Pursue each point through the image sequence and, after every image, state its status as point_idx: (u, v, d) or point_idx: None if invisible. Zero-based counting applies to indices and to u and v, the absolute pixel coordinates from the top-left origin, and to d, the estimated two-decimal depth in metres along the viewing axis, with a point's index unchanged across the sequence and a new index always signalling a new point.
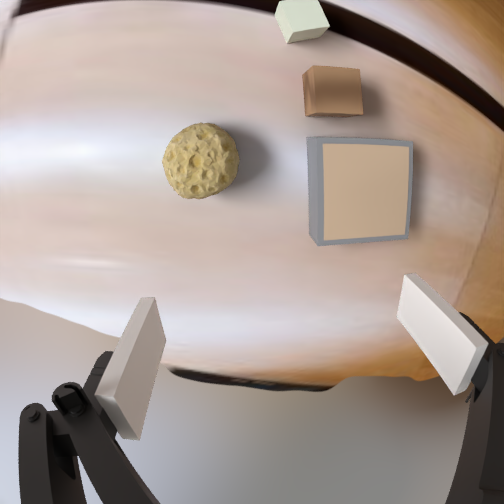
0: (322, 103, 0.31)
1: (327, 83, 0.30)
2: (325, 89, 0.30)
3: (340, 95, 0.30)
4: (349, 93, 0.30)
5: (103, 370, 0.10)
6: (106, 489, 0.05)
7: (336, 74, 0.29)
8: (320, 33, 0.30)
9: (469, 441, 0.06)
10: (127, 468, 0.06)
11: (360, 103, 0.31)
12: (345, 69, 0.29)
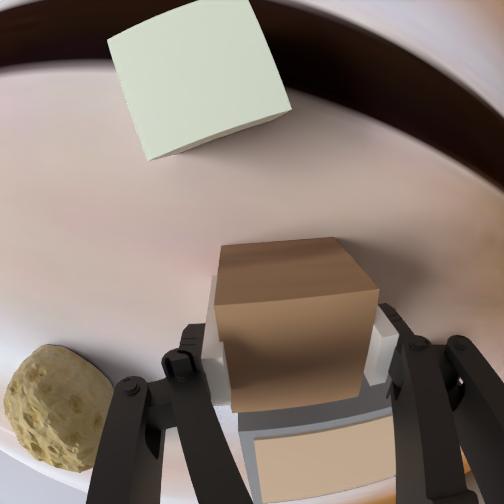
0: (247, 396, 0.12)
1: (264, 352, 0.11)
2: (255, 366, 0.11)
3: (302, 373, 0.11)
4: (332, 363, 0.11)
5: (193, 340, 0.12)
6: (196, 456, 0.06)
7: (295, 322, 0.10)
8: (268, 119, 0.11)
9: (401, 443, 0.07)
10: (225, 439, 0.07)
11: (357, 378, 0.12)
12: (331, 300, 0.10)
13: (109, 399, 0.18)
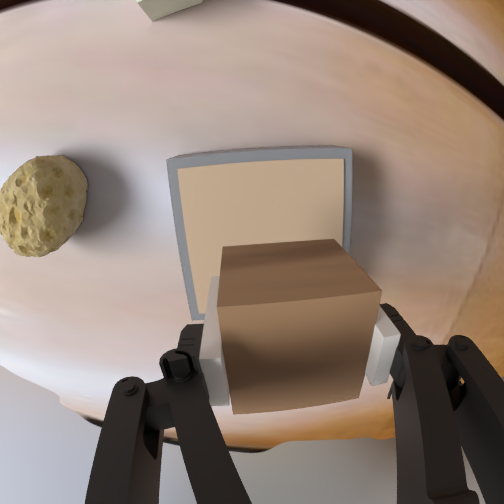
0: (248, 398, 0.12)
1: (266, 354, 0.11)
2: (257, 368, 0.11)
3: (303, 375, 0.11)
4: (333, 365, 0.11)
5: (191, 340, 0.12)
6: (194, 457, 0.06)
7: (298, 324, 0.10)
8: None
9: (402, 443, 0.07)
10: (223, 440, 0.07)
11: (358, 380, 0.12)
12: (333, 302, 0.10)
13: (82, 190, 0.24)
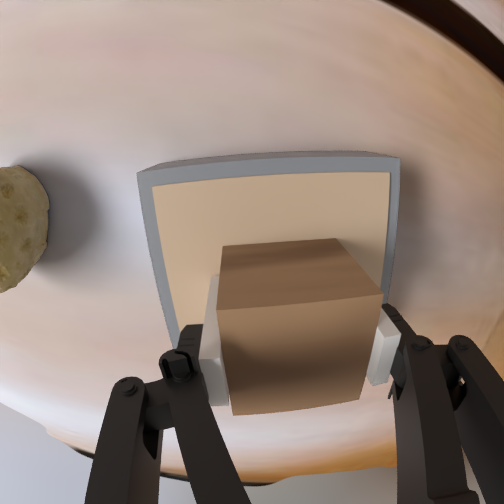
0: (248, 400, 0.12)
1: (266, 357, 0.11)
2: (257, 370, 0.11)
3: (303, 377, 0.11)
4: (334, 367, 0.11)
5: (191, 341, 0.12)
6: (194, 457, 0.06)
7: (298, 327, 0.10)
8: None
9: (403, 443, 0.07)
10: (222, 440, 0.07)
11: (358, 381, 0.12)
12: (334, 305, 0.10)
13: (41, 210, 0.18)
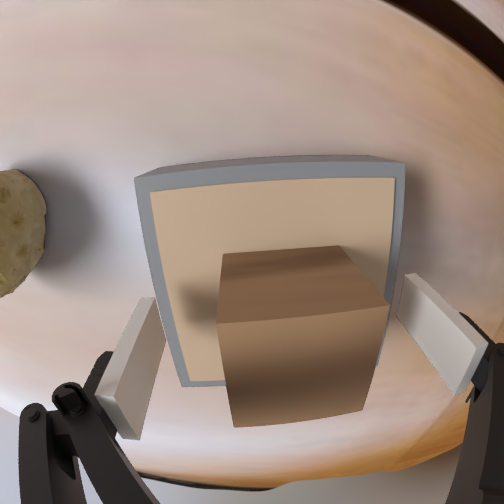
0: (249, 412, 0.11)
1: (267, 370, 0.10)
2: (259, 383, 0.10)
3: (306, 389, 0.11)
4: (337, 379, 0.11)
5: (103, 370, 0.10)
6: (106, 489, 0.05)
7: (302, 340, 0.10)
8: None
9: (469, 441, 0.06)
10: (127, 468, 0.06)
11: (362, 393, 0.11)
12: (339, 317, 0.10)
13: (38, 215, 0.17)
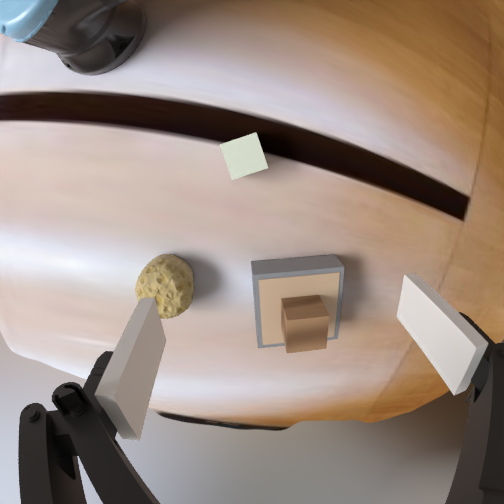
0: (292, 346, 0.41)
1: (298, 332, 0.40)
2: (295, 336, 0.40)
3: (308, 339, 0.41)
4: (317, 336, 0.41)
5: (103, 370, 0.10)
6: (106, 489, 0.05)
7: (307, 324, 0.40)
8: None
9: (469, 441, 0.06)
10: (127, 468, 0.06)
11: (325, 341, 0.41)
12: (316, 318, 0.40)
13: (192, 278, 0.47)
